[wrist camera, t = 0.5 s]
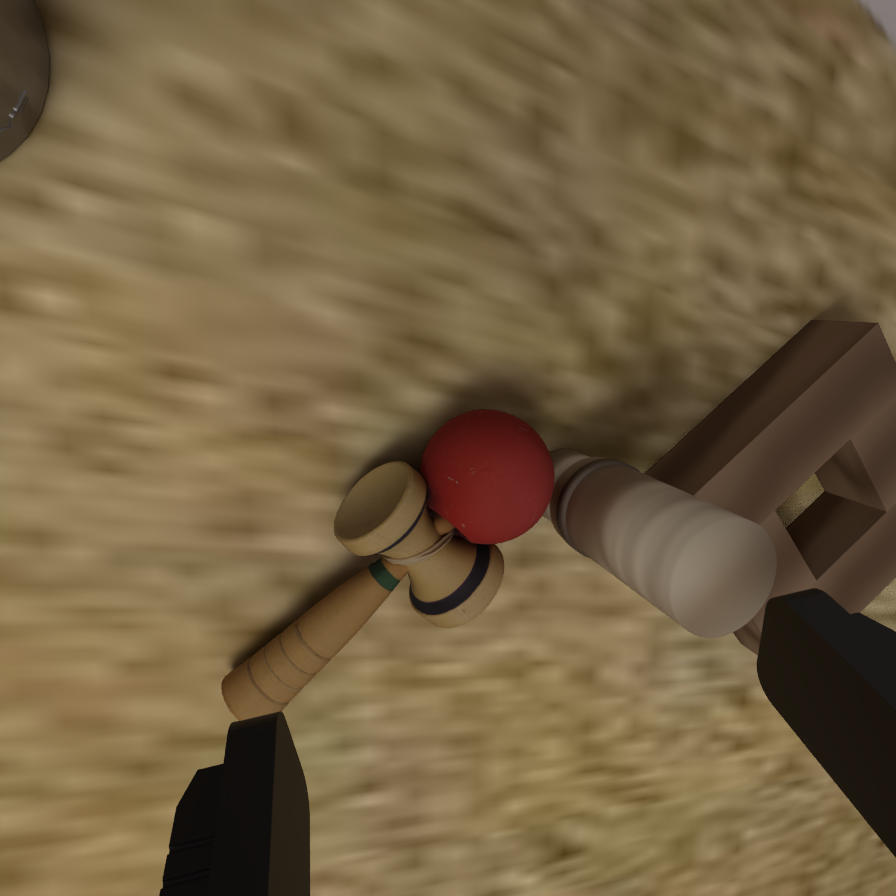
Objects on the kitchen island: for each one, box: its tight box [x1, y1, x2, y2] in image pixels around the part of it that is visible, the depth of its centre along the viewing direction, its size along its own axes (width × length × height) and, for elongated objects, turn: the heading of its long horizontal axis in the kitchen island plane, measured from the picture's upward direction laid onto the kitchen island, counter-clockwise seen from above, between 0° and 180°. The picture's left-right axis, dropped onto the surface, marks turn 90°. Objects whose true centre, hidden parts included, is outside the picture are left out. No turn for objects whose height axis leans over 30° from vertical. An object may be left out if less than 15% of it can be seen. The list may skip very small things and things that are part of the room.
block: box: [645, 320, 896, 655], centre depth 36 cm, size 14×14×4 cm
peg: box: [542, 449, 777, 638], centre depth 28 cm, size 5×5×12 cm
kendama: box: [221, 409, 555, 721], centre depth 29 cm, size 8×6×18 cm
